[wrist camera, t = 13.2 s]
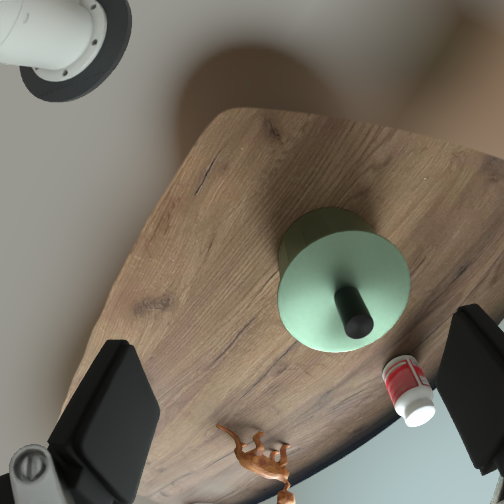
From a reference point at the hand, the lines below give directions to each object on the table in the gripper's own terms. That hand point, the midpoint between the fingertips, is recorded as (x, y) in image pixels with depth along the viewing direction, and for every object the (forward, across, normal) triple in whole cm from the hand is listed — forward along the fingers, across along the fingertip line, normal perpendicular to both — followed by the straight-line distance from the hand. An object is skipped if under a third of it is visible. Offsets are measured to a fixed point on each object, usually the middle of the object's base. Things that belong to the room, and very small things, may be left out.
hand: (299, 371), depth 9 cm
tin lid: (+21, -6, +10) cm, 24 cm away
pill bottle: (+30, -18, +31) cm, 47 cm away
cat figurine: (+30, +7, +46) cm, 56 cm away
